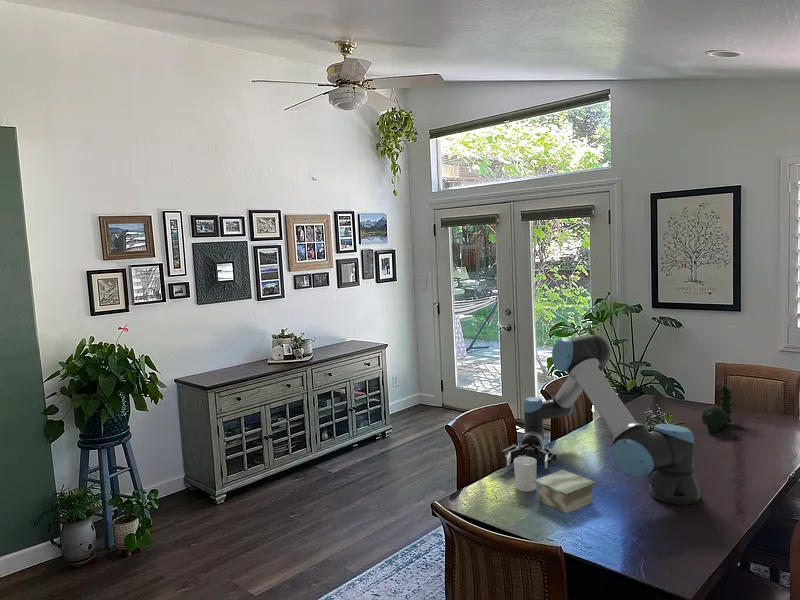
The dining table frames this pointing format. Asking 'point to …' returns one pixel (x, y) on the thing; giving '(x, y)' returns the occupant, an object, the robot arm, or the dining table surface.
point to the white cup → (525, 473)
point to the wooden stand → (565, 490)
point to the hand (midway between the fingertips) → (526, 463)
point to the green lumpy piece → (718, 412)
